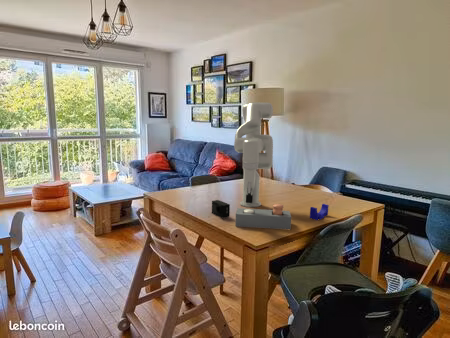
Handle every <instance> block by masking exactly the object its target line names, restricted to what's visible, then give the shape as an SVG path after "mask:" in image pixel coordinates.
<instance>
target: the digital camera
mask: <svg viewBox="0 0 450 338" xmlns="http://www.w3.org/2000/svg"><path fill="white" fill-rule="evenodd" d="M230 205H231V204H230V203H228V202H224V201H223V200H219V199H217V200H212V201H211V214H212V215H215V216H216V217H219V218H222V219H226V218H230V212H231V211H230V209H231V206H230Z"/></svg>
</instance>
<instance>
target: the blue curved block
mask: <svg viewBox="0 0 450 338" xmlns="http://www.w3.org/2000/svg"><path fill="white" fill-rule="evenodd" d="M309 210H310V211H309V219H311V218H312V220H314V219H315V220H314V221H319V220H318V219H320V220H323V219H324V218H325V217H327V216H326V215H328V214H329V205H328V204H326V203H322V204H321V208H320V210H319V211H318V208H317V207H314V206H310V209H309ZM324 216H325V217H324ZM328 216H329V215H328ZM322 218H323V219H322Z"/></svg>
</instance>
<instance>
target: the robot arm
mask: <svg viewBox="0 0 450 338" xmlns="http://www.w3.org/2000/svg"><path fill="white" fill-rule="evenodd" d="M241 110H242V116H243V120H244V123H242V124H241V125H240V126H239V127H238V128H237V130H236V132H235V135H234V143H233V146H234V147H233V148H234V151H235V152H237V153H241V154H242V169H243V177H242V179H243V184H242V200H241V201H240V202H239V205H240V206H243V207H246V208H257V207H261V205H262V203H261V201H259V200H260V174H259V172H258V171H257V170H269V169H271V168H272V166H273V161H274V160H273V159H274V155H273V154H274V140H273V136H272V135H270V134H261V131H262V129H261V127H262V119H266V120H267V119H269V120H270V119H271V118H272V117H273V114H274V108H273V104H272V103H271V102H259V101H258V102H250V103H246V104H244V105H243V106H242V109H241ZM244 136H245V137H244Z"/></svg>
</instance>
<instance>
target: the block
mask: <svg viewBox="0 0 450 338" xmlns="http://www.w3.org/2000/svg"><path fill="white" fill-rule="evenodd" d="M246 209H247V208H241V207H237V208H236V212H235V224H234V227H243V228H257V229H258V228H259V229H273V230H274V229H275V230H290V231H291V228H292V215H291V212H290V210H283V211H282V215H273V209H258V208H249V209H250V210H254V214H250V213H244V210H246Z"/></svg>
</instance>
